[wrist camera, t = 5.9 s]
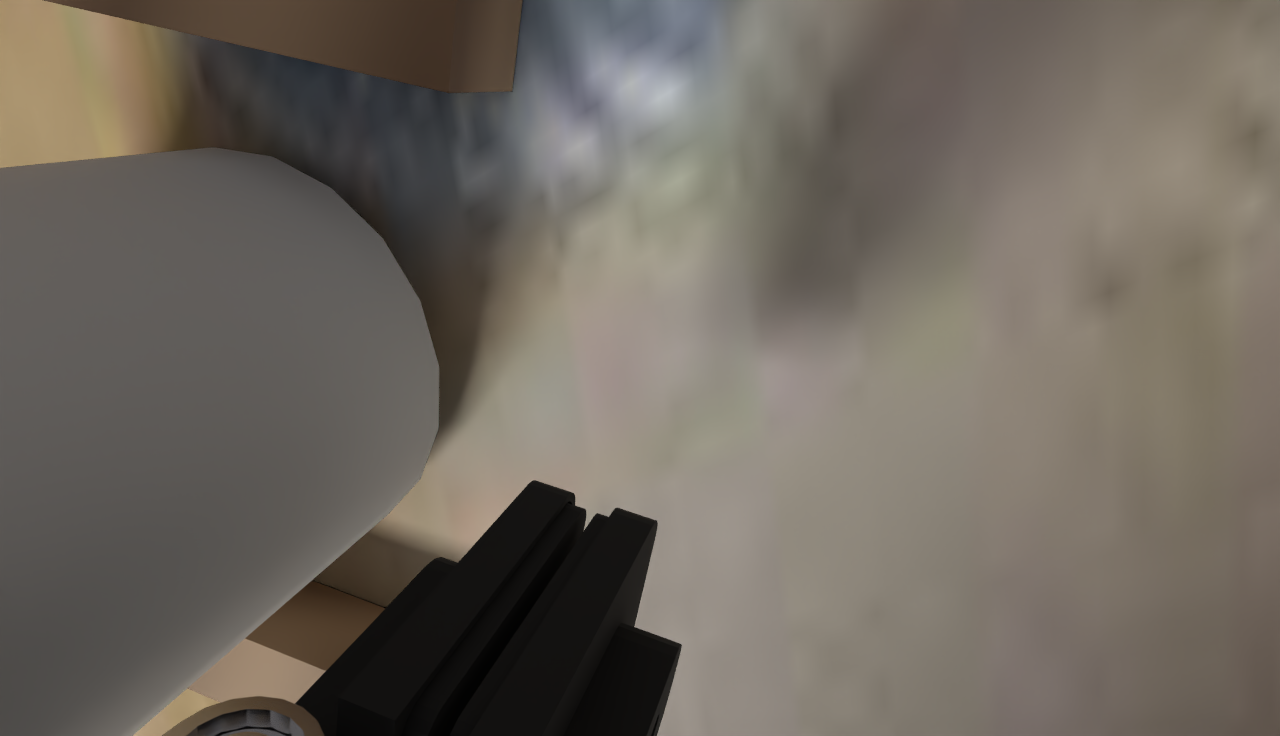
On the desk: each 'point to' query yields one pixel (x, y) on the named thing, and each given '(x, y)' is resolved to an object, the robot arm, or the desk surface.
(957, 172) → the desk surface
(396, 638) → the robot arm
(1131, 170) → the desk surface
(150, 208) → the can
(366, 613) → the channel
